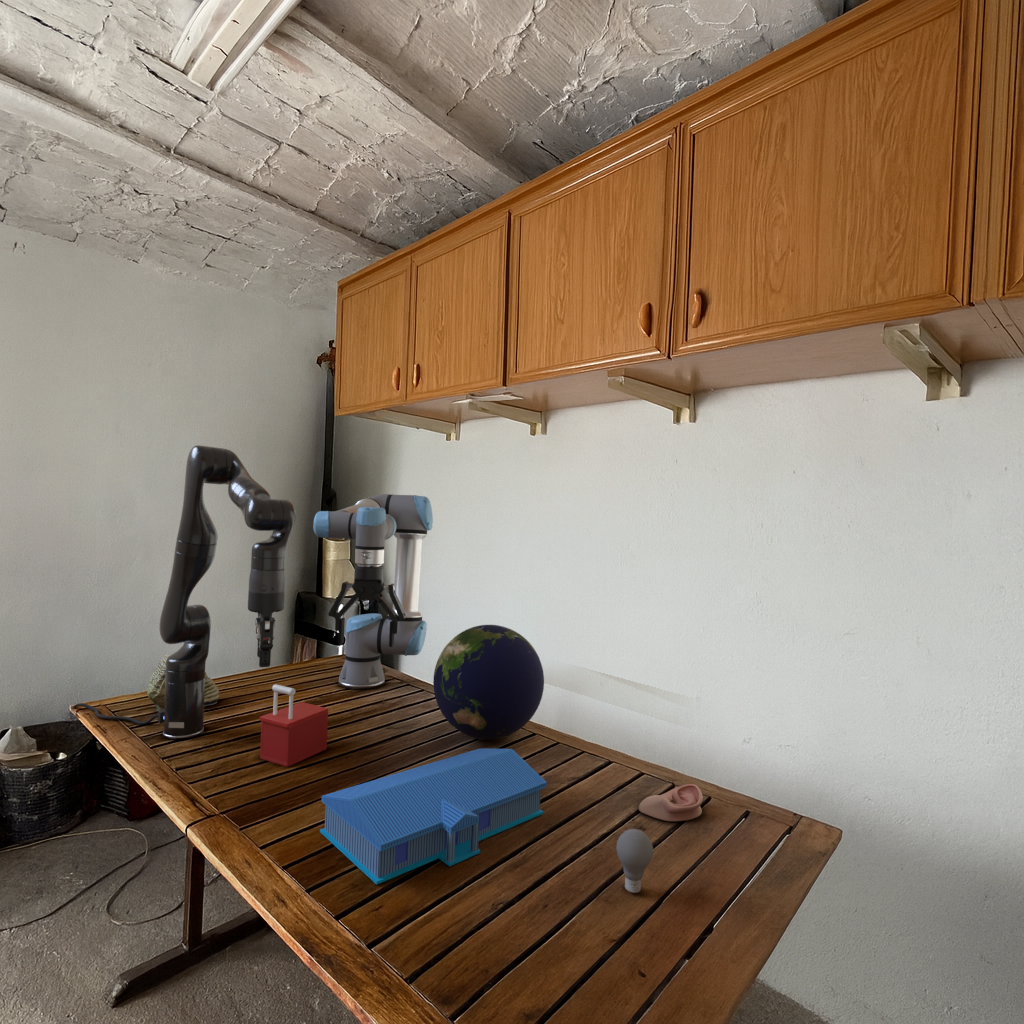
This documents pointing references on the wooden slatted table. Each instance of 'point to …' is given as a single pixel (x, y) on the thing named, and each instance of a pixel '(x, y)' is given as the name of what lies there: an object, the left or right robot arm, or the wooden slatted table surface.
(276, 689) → the lid
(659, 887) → the wooden slatted table surface
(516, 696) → the globe
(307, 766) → the wooden slatted table surface
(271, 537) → the left robot arm
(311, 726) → the chest
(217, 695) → the fossil
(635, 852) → the light bulb
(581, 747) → the wooden slatted table surface
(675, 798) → the anatomical model
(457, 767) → the model building
